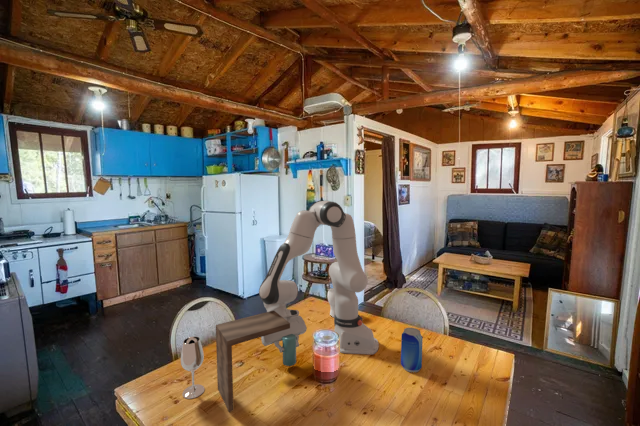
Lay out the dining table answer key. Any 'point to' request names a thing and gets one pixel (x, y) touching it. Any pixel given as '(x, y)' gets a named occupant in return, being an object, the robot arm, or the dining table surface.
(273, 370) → the dining table surface
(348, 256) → the robot arm
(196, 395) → the wineglass
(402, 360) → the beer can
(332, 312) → the cup
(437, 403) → the dining table surface
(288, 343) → the teal cylinder
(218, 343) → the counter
